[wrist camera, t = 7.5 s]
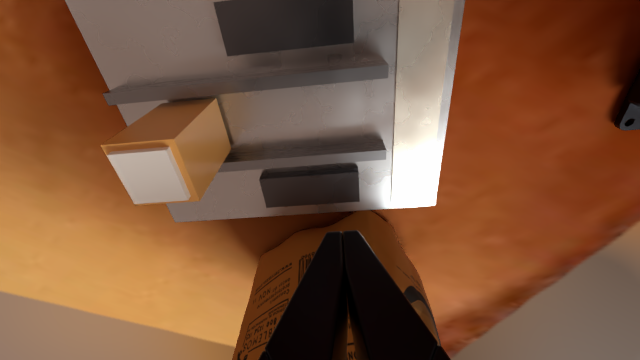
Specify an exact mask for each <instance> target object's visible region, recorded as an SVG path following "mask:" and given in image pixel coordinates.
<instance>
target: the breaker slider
mask: <svg viewBox="0 0 640 360" xmlns="http://www.w3.org/2000/svg"><path fill="white" fill-rule="evenodd" d="M100 146H101V147H102V149H103V151H104V153H105V154H106V156H107V158H108V160H109V161H110V163H111V165H112V166H113V168H114V170H115V172H116V173H117V175H118V177H119V179H120V180H121V182H122V184H123V186H124V187H125V189H126V191H127V193H128V194H129V196H130V198H131V200H132V201H133V203H134V205H135V206H137V205H152V204H166V203H181V202H195V201H200V200H201V198H202V197H203V195H204V193H205V192H206V190H207V188H208V187H209V185H210V183H211V182H212V180H213V178H214V177H215V175H216V174H217V172H218V170H219V169H220V167H221V165H222V164H223V162H224V160H225V159H226V157H227V155H228V154H229V152H230V150H231V146H230V142H229V139H228V136H227V132H226V129H225V126H224V122H223V119H222V116H221V112H220V109H219V106H218V102H217V99H216V98H211V99H201V100H191V101H180V102H170V103H162V104H160V105H159V106H157V107H156V108H154V109H153V110H151V111H150V112H148V113H147V114H145V115H144V116H143V117H141V118H140V119H138V120H137V121H135V122H134V123H132V124H131V125H129V126H128V127H126V128H125V129H124V130H122V131H121V132H119V133H118V134H116V135H115V136H113V137H112V138H110V139H109V140H107V141H106V142H105V143H103V144H102V145H100Z"/></svg>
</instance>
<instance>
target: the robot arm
mask: <svg viewBox="0 0 640 360" xmlns="http://www.w3.org/2000/svg"><path fill="white" fill-rule="evenodd" d="M627 120H628V121H627ZM626 121H627V122H626ZM625 122H626V123H625ZM614 125H615V126H616V127H617V128H619V129H621V130H636V129H640V70H639V72H638V74H637V76H636V78H635V80H634V82H633V84H632V86H631V88H630V90H629V93H628V95H627V97H626V99H625V101H624V103H623V105H622V107H621V109H620V111H619V113H618V115H617V117H616V120H615V122H614ZM347 301H348V303H347ZM348 312H349V320H350V326H351V331H352V336H353V341H354V347H355V352H356V357H357V360H451V359H450V358H449V356H448V355H447V354H446V352H445V351H444V349H443V348H442V347H441V346H440V345H438V341H437V340H436V338H435V337H434V336H433V334H432V333H431V331H430V330H429V329H428V327H427V326H426V324H425V323H424V322H423V320H422V319H421V317H420V316H419V315H418V313H417V312H416V310H415V309H414V308H413V306H412V305H411V303H410V302H409V301H408V299H407V298H406V296H405V295H404V294H403V292H402V291H401V289H400V288H399V287H398V285H397V284H396V282H395V281H394V280H393V278H392V277H391V275H390V274H389V273H388V271H387V270H386V268H385V267H384V266H383V264H382V263H381V261H380V260H379V259H378V257H377V256H376V254H375V253H374V251H373V250H372V249H371V247H370V246H369V244H368V243H367V242H366V240H365V239H364V237H363V236H362V235H361V233H360V232H359V231H358V230H348V231H343V235H342V232H341V231H332V232H327V233H326V234H325V236H324V237H323V239H322V241H321V243H320V245H319V247H318V249H317V251H316V252H315V254H314V256H313V258H312V260H311V262H310V264H309V265H308V267H307V269H306V271H305V273H304V275H303V277H302V279H301V280H300V282H299V284H298V286H297V288H296V290H295V292H294V293H293V295H292V297H291V299H290V301H289V303H288V305H287V306H286V308H285V310H284V312H283V314H282V316H281V318H280V320H279V321H278V323H277V325H276V327H275V329H274V331H273V333H272V334H271V336H270V338H269V340H268V342H267V344H266V346H265V348H264V349H265V351H262V353H261V355H260V357H259V358H258V360H346V357H347V336H348Z"/></svg>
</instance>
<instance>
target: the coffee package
mask: <svg viewBox="0 0 640 360" xmlns="http://www.w3.org/2000/svg"><path fill="white" fill-rule="evenodd" d="M348 230H358V231H359V232H360V233H361V235H362V236H363V237H364V239H365V240H366V242H367V243H368V244H369V246H370V247H371V249H372V250H373V251H374V253H375V254H376V256H377V257H378V259H379V260H380V261H381V263H382V264H383V266H384V267H385V268H386V270H387V271H388V273H389V274H390V275H391V277H392V278H393V280H394V281H395V282H396V284H397V285H398V287H399V288H400V289H401V291H402V292H403V294H404V295H405V296H406V298H407V299H408V301H409V302H410V303H411V305H412V306H413V308H414V309H415V310H416V312H417V313H418V315H419V316H420V317H421V319H422V320H423V322H424V323H425V324H426V326H427V327H428V329H429V330H430V331H431V333H432V334H433V336H434V337H435V338H436V340H437V341H438V345H440V346H441V343H440V339H439V336H438V332H437V329H436V325H435V321H434V317H433V314H432V310H431V307H430V304H429V302H428V299H427V296H426V293H425V290H424V287H423V284H422V281H421V279H420V276H419V274H418V272H417V270H416V268H415V267H414V265H413V264H412V262H411V261H410V260H409V258H408V257H407V256H406V254H405V253H404V251H403V250H402V248H401V246H400V245H399V243H398V241H397V238H396V235H395V232H394V229H393V227H392V226H391V225H390V224H389V223H388V222H386V221H384V220H383V219H382V218H381V217H379V216H378V215H377V214H375V213H374V212H372V211H371V210H360V211H356V212H355V213H353V214H351V215H349V216H347V217H345V218H344V219H342V220H340V221H339V222H337V223H335V224H333V225H331V226H328V227H322V228H312V229H305V230H302V231H299V232H297V233H295V234H293V235H292V236H290V237H289V238H288V239H287V240H285V241H284V242H283V243H282V244H280V245H279V246H278V247H276V248H274V249H272V250H270V251H268V252H267V253H265V254H263V255H262V256H261V258H260V260H259V264H258V268H257V271H256V274H255V277H254V282H253V286H252V291H251V295H250V299H249V302H248V305H247V308H246V311H245V315H244V318H243V322H242V325H241V330H240V334H239V337H238V340H237V344H236V348H235V351H234V354H233V358H232V360H258V358H259V357H260V355H261V353H262V351H265V349H264V348H265V346H266V344H267V342H268V340H269V338H270V336H271V334H272V333H273V331H274V329H275V327H276V325H277V323H278V321H279V320H280V318H281V316H282V314H283V312H284V310H285V308H286V306H287V305H288V303H289V301H290V299H291V297H292V295H293V293H294V292H295V290H296V288H297V286H298V284H299V282H300V280H301V279H302V277H303V275H304V273H305V271H306V269H307V267H308V265H309V264H310V262H311V260H312V258H313V256H314V254H315V252H316V251H317V249H318V247H319V245H320V243H321V241H322V239H323V237H324V236H325V234H326V233H327V232H332V231H341V232H342V235H343V231H348ZM347 303H348V301H347ZM346 360H357V357H356V352H355V347H354V341H353V336H352V331H351V326H350V320H349V312H348V336H347V357H346Z"/></svg>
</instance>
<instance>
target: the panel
mask: <svg viewBox="0 0 640 360" xmlns="http://www.w3.org/2000/svg"><path fill="white" fill-rule="evenodd" d="M65 2H66V4H67V6H68V8H69V10H70V12H71V14H72V16H73V18H74V20H75V22H76V24H77V26H78V28H79V30H80V32H81V34H82V36H83V38H84V40H85V42H86V44H87V46H88V48H89V50H90V52H91V54H92V56H93V58H94V60H95V62H96V64H97V66H98V68H99V70H100V72H101V74H102V76H103V78H104V80H105V82H106V84H107V86H108V88H109V91H107V92H105V93H103V96H104V98H105V100H106V102H107V104H108V105H117V106H118V108H119V110H120V112H121V114H122V116H123V118H124V120H125V122H126V124H127V126H129V125H131V124H132V123H134V122H135V121H137V120H138V119H140V118H141V117H143V116H144V115H145V114H147V113H148V112H150V111H151V110H153V109H154V108H156V107H157V106H159V105H160V104H162V103H170V102H180V101H191V100H201V99H211V98H216V99H217V102H218V106H219V109H220V112H221V116H222V119H223V122H224V126H225V129H226V132H227V136H228V139H229V142H230V146H231V150H230V152H229V154H228V155H227V157H226V159H225V160H224V162H223V164H222V165H221V167H220V169H219V170H218V172H217V174H216V175H215V177H214V178H213V180H212V182H211V183H210V185H209V187H208V188H207V190H206V192H205V193H204V195H203V197H202V198H201V200H200V201H195V202H181V203H166V205H167V207H168V209H169V211H170V213H171V215H172V217H173V219H174V221H175V222H189V221H205V220H220V219H236V218H251V217H267V216H283V215H298V214H314V213H329V212H345V211H360V210H376V209H392V208H407V207H423V206H435V202H436V195H437V188H438V181H439V174H440V167H441V161H442V154H443V147H444V140H445V133H446V127H447V120H448V113H449V106H450V99H451V92H452V86H453V79H454V72H455V65H456V58H457V51H458V45H459V38H460V31H461V24H462V17H463V10H464V4H465V0H65Z"/></svg>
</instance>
